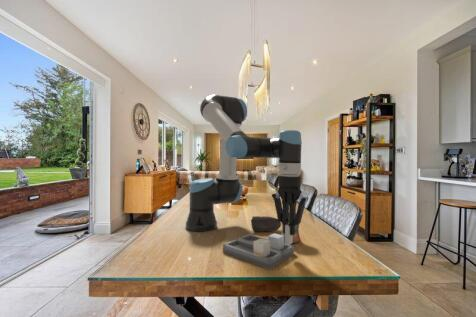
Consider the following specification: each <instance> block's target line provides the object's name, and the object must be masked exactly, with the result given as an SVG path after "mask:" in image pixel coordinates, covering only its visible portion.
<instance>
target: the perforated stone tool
mask: <svg viewBox="0 0 476 317" xmlns="http://www.w3.org/2000/svg"><path fill="white" fill-rule="evenodd" d="M250 221H251V223H250V225H251V230H252V231H253V232H259V233H261V232H273V231H277V230H279V229H280V228H281V227H282V223H281V222H279V221H278V218H276V217H272V216H259V215H255V216H252V218H251V219H250Z"/></svg>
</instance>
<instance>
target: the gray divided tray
mask: <svg viewBox="0 0 476 317" xmlns="http://www.w3.org/2000/svg"><path fill="white" fill-rule="evenodd" d="M260 238H261V239H264V240H268V237H267V238H266V237H263V236H260V235H255V234H252V233H248V234H246V235H244V236H240V237H238V238H236V239H233V240H231V241H228V242H225V243H224V244H222V252H223V253H225V254H227V255H229V256H233V257H235V258H238V259H240V260H243V261H246V262H249V263H251V264H254V265H257V266H259V267H262V268H265V269H268V270H272V269H273V268H274V267H276V266H278V265H279V264H280V263H282V262H283V261H284V260H286V259H287V258H289V257H291V256H292V255H294V254H295V245H292V244H290V245H287V244H285V242H284V248H283V249H281V250H278V249H275V248H271V247H270V254H269V255H268V256H266V257H264V256H261V255H258V254H255V253H253V241H256V240H258V239H260Z"/></svg>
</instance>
